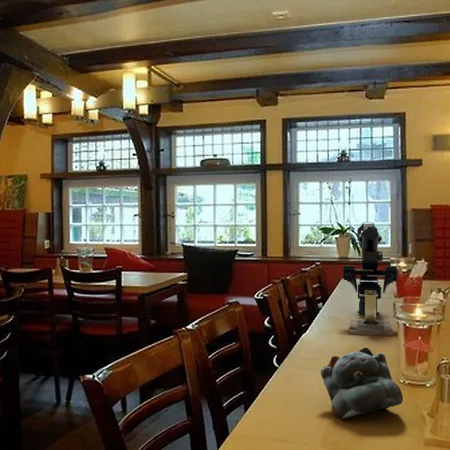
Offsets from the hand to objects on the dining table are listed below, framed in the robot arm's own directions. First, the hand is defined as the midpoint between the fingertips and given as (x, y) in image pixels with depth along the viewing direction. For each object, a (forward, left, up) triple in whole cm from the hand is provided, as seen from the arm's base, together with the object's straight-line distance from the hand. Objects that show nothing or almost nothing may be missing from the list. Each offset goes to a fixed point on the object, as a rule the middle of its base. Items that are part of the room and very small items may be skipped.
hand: (370, 292), depth 186 cm
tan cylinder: (+4, +5, -11) cm, 13 cm away
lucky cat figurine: (+52, +63, -13) cm, 83 cm away
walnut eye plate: (+1, +1, -13) cm, 13 cm away
